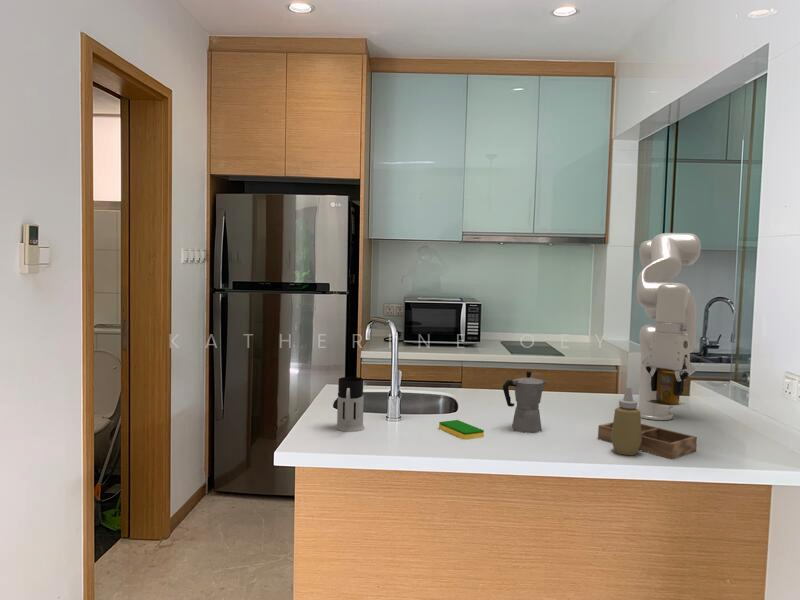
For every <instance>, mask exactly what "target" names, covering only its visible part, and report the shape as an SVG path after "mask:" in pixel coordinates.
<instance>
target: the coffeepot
mask: <svg viewBox="0 0 800 600" xmlns="http://www.w3.org/2000/svg"><path fill="white" fill-rule="evenodd" d="M525 374H526V377H520V378H515V379H507V380H506V381H505V382H504V383H503V385H502V391H503V394H504V397H505V401H506V404H507V406H508V407H511V408H513V407H515V403H512V402H511V401H512V400H511V395H510V388H509V387H514V396H515V401H516V407H515V411H514V416H513V420H512V424H511V427H512V429H513V430H514V431H516V432H519V431H520V433H525V432H527V434H528V433H530V434H533V433H534V432H535V433H539V431H540V432H541V431H542V430H543V429H542V422H541V420H542V419H541V414H540V409H539V408H540V405H539V404H540V403H541V400H542V395H543V394H542V393H543V388H544V387H545V385H546V384H547V383H548V381H547V380H545V379H544V380H543V379H539V378H534V377H532V376H531V375H532V371H525ZM535 433H534V434H535Z"/></svg>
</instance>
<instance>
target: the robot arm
mask: <svg viewBox="0 0 800 600" xmlns="http://www.w3.org/2000/svg"><path fill="white" fill-rule="evenodd" d="M701 252H702V244H701V240H700V238H699V237H698V236H697V235H696V234H694V233H691V232H690V233H689V232H688V233H687V232H684V233H683V232H680V233H679V232H664V233H659V234H656V235H655V236H654V237H653V238H652V239H649V240H645V241H643V242H642V243H640V245H639V253H638V254H639V260H640V264H641V267H642V270H641V271H640V273H639V274H638V277H637V281H636V298H637V303H638V304H639V305H640V306H641V307H643V308H644V311H645V316H646V317H647V318H649V319H650V320H655V323H648V324H645V325H643V326H642V327H641V328H640V330H639V336H638V337H639V348H640V372H639V373H640V374H639V393H638V408H637V409H638V410H639V411H640V417H641V419H646V420H653V421H667V420H672V419H673V418H674V414H673V413H671V412H669V411H670V409H673V408H674V407H675V406H669V407H666V406H661V405H656V404H652V403H649V402H646V401H649V400H656V391H657V373H658V369H659V368H661V369H668V370H673V371H674V373H675V376H676V379H677V381H675V382H674V395H676V396H678V395H680V396H682V395H683V393H684V385H685V384H684V383H685V381H686V380H687V379H688V378H689V377H690V376H691V375H692V374H694V373H695V372H696V371H697V369H696V367H695V366H694V364H692V362H691V361H690V360H691V359H690V358H691V353H692V352H693V351H694V350H695V346H696V338H697V335H696V333H697V332H696V331H697V329H696V328H697V303H696V298H695V297H694V296H693V295H692V294H691V289H689V286H687V284H684V283H681V282H674V279H673V278H675V277H677V276H678V275H679V274H680V272H681V271H682V266H685V267H686V266H692V265H693V264H695V262H697V260H698V259H699V258H700V255H701Z"/></svg>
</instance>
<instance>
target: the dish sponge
mask: <svg viewBox="0 0 800 600" xmlns="http://www.w3.org/2000/svg"><path fill="white" fill-rule="evenodd" d="M438 423H439V424H438V429H439V430H441V431H444V432H446V433H449V434H451V435H453V436H455V437H458V438H459V439H462V440H464V441H466V440H472V439H479V438H480V439H481V438H484V436H485V430H484V429H481V428H479V427H476V426H474V425H471V424H469V423H466V422H464V421H461V420H458V419H454V420H445V421H439V422H438Z"/></svg>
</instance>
